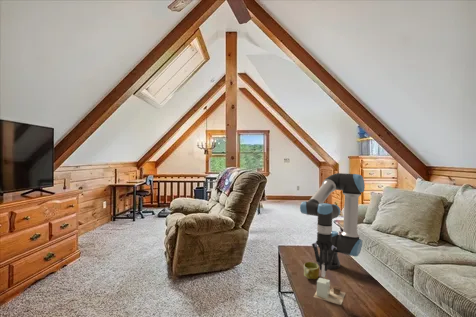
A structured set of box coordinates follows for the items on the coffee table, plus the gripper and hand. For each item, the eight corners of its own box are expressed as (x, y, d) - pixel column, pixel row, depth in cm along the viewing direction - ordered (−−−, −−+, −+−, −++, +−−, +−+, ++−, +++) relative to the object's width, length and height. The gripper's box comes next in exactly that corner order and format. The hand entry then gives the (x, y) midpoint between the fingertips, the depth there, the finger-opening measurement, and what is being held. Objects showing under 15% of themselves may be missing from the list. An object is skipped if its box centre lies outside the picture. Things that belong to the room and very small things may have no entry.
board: (319, 287, 150) (320, 280, 150) (345, 294, 143) (345, 287, 143) (313, 298, 138) (313, 291, 138) (341, 307, 131) (341, 299, 131)
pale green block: (319, 291, 144) (319, 277, 144) (329, 294, 141) (329, 280, 141) (316, 295, 139) (316, 281, 139) (327, 298, 136) (327, 284, 136)
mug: (307, 268, 171) (310, 256, 167) (320, 278, 164) (324, 266, 160) (296, 277, 163) (298, 265, 159) (309, 288, 156) (312, 275, 152)
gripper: (310, 232, 140) (309, 275, 140) (335, 236, 133) (334, 282, 133) (314, 229, 146) (313, 270, 147) (338, 232, 140) (337, 276, 140)
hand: (323, 275), depth 140 cm, fingers closed
